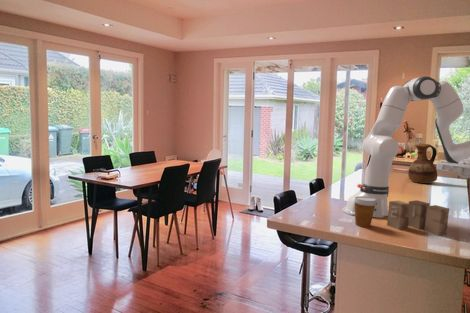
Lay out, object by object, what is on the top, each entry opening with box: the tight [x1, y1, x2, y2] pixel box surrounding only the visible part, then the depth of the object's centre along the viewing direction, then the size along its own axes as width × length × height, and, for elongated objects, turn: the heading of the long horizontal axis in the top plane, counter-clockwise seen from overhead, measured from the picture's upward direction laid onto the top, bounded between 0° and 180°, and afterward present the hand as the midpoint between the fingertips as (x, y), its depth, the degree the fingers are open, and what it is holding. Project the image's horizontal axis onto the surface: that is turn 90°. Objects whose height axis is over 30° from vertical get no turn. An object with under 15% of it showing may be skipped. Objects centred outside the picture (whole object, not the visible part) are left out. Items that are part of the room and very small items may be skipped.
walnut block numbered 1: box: [408, 200, 431, 230], centre depth 167 cm, size 6×6×11 cm
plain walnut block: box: [424, 204, 450, 237], centre depth 159 cm, size 6×6×11 cm
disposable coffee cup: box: [354, 196, 376, 228], centre depth 164 cm, size 10×10×12 cm
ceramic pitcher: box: [407, 143, 438, 184], centre depth 287 cm, size 20×20×30 cm
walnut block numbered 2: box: [386, 200, 410, 230], centre depth 164 cm, size 6×6×11 cm
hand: (450, 169), depth 168 cm, fingers closed
